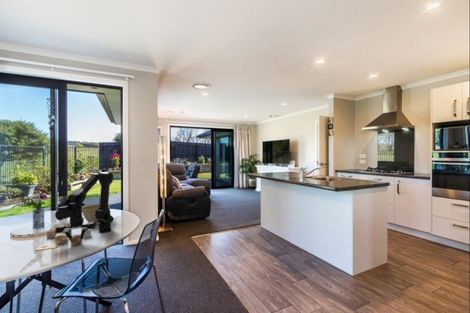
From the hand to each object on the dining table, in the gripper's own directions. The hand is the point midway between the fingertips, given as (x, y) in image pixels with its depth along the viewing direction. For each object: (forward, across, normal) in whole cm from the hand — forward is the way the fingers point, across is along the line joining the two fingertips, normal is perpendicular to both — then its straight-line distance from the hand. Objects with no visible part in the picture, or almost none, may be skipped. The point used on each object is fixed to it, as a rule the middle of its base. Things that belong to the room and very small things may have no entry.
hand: (76, 241), depth 131 cm
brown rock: (+2, +14, -25) cm, 29 cm away
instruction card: (+2, +14, -2) cm, 14 cm away
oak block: (+2, +9, -8) cm, 12 cm away
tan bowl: (+2, -5, -40) cm, 40 cm away
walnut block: (+1, 0, 0) cm, 1 cm away
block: (+2, -3, -12) cm, 12 cm away
